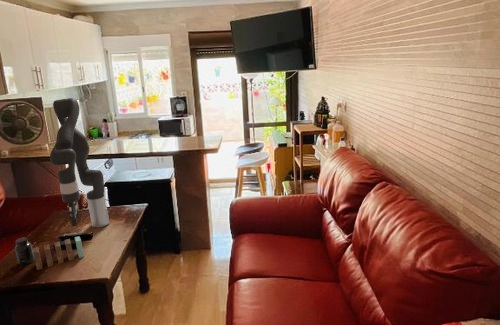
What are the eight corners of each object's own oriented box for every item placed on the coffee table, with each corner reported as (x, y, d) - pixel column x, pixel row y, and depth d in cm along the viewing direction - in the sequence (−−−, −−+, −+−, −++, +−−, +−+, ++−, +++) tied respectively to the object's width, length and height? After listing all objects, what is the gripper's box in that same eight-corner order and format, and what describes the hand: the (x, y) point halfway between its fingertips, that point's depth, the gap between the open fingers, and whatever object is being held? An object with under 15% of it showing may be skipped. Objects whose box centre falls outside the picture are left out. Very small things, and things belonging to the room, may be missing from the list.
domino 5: (82, 252, 182) (79, 236, 180) (84, 256, 178) (80, 240, 176) (77, 253, 181) (74, 237, 179) (79, 258, 177) (76, 241, 175)
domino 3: (62, 257, 178) (59, 241, 175) (63, 262, 174) (60, 245, 171) (57, 259, 177) (54, 242, 174) (58, 263, 173) (55, 247, 170)
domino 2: (52, 260, 176) (48, 244, 173) (53, 265, 172) (49, 248, 169) (47, 262, 175) (43, 245, 172) (48, 267, 170) (44, 250, 168)
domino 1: (41, 263, 173) (38, 247, 171) (42, 268, 169) (38, 251, 167) (36, 265, 172) (32, 248, 170) (37, 270, 168) (33, 253, 166)
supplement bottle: (23, 258, 179) (17, 236, 175) (37, 257, 179) (32, 235, 176) (15, 266, 172) (9, 243, 169) (30, 265, 173) (25, 242, 169)
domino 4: (72, 255, 180) (69, 238, 178) (74, 259, 176) (70, 242, 173) (67, 256, 179) (64, 240, 176) (69, 260, 175) (65, 244, 172)
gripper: (76, 194, 165) (82, 226, 170) (80, 184, 178) (85, 214, 183) (58, 197, 163) (65, 229, 168) (63, 186, 176) (69, 217, 181)
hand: (75, 221), depth 175 cm, fingers open, 8 cm apart
